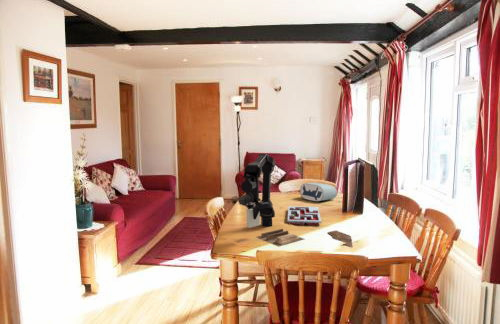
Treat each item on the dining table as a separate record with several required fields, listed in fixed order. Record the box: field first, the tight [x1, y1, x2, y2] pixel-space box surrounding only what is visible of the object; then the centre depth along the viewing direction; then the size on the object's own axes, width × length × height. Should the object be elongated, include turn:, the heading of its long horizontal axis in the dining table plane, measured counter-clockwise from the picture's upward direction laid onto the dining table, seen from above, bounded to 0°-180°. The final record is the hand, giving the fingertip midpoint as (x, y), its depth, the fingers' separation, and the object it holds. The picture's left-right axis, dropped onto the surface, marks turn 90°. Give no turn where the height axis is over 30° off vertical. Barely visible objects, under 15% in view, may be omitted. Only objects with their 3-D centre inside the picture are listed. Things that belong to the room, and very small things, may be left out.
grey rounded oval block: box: [299, 182, 338, 202], centre depth 278 cm, size 22×19×13 cm
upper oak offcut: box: [277, 233, 297, 242], centre depth 180 cm, size 4×10×1 cm, turn 127°
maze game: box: [287, 205, 322, 226], centre depth 227 cm, size 35×20×3 cm, turn 173°
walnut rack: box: [256, 228, 305, 248], centre depth 184 cm, size 18×18×3 cm
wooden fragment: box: [327, 229, 353, 248], centre depth 186 cm, size 26×11×1 cm, turn 1°
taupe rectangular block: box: [246, 208, 261, 228], centre depth 184 cm, size 2×7×9 cm, turn 127°
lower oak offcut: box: [275, 236, 300, 246], centre depth 180 cm, size 5×12×1 cm, turn 127°
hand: (253, 218), depth 184 cm, fingers closed on taupe rectangular block, 2 cm apart
